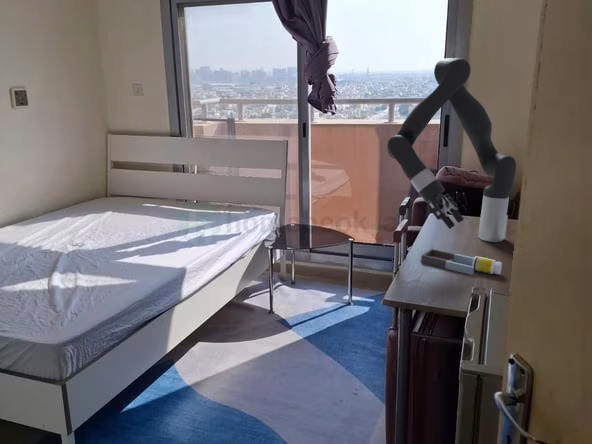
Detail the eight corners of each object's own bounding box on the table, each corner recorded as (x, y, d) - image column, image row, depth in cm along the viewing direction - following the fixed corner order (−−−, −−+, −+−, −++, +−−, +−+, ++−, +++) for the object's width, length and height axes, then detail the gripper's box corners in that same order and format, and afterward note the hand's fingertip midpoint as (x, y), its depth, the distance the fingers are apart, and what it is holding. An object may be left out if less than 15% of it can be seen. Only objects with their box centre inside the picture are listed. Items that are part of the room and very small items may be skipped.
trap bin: (421, 262, 176) (421, 255, 175) (430, 255, 182) (431, 248, 181) (445, 268, 171) (446, 261, 170) (454, 260, 177) (455, 253, 177)
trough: (445, 268, 170) (445, 261, 170) (454, 260, 178) (455, 253, 177) (472, 274, 165) (473, 267, 165) (481, 266, 173) (481, 259, 172)
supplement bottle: (470, 271, 168) (497, 277, 163) (472, 258, 167) (499, 263, 162) (475, 267, 172) (501, 273, 167) (476, 254, 170) (503, 259, 166)
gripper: (427, 182, 165) (458, 222, 162) (443, 175, 176) (473, 213, 173) (410, 195, 169) (440, 235, 166) (427, 188, 180) (455, 225, 177)
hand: (457, 224), depth 169 cm, fingers open, 8 cm apart
